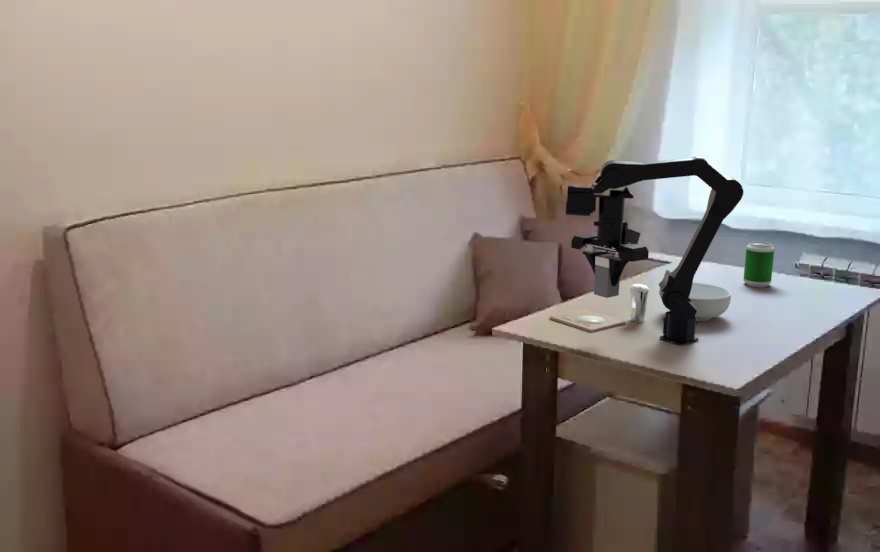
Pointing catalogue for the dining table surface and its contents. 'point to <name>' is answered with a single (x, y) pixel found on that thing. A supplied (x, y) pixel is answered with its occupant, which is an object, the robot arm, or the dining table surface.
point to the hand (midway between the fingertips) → (606, 284)
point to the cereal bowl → (709, 300)
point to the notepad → (587, 320)
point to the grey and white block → (604, 277)
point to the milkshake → (638, 302)
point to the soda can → (758, 264)
